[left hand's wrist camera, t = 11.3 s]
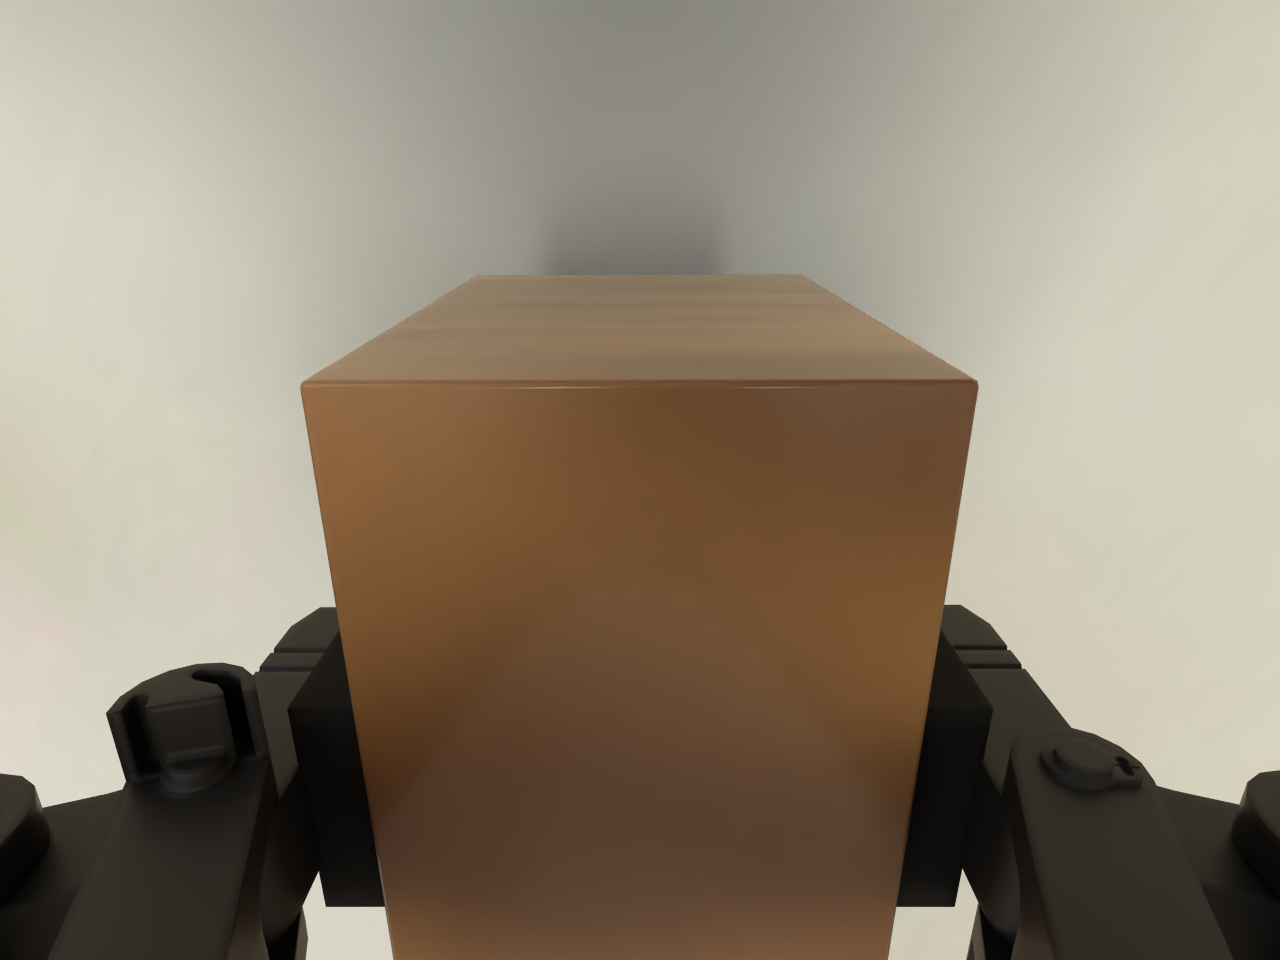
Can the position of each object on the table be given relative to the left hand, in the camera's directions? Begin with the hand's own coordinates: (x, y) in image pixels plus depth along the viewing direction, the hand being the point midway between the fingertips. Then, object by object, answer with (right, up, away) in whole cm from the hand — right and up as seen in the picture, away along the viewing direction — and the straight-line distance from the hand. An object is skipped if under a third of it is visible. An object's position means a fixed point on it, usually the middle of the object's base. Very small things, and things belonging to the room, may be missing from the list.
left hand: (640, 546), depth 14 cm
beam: (0, -32, +13) cm, 35 cm away
